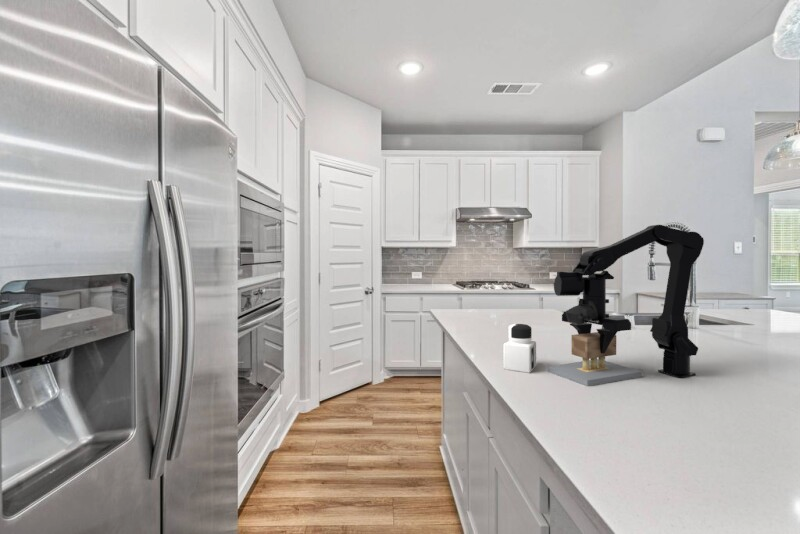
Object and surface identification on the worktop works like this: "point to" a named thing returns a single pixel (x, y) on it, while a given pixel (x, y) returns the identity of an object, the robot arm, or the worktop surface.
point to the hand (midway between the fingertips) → (594, 350)
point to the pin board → (594, 371)
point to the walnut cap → (591, 346)
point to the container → (519, 349)
